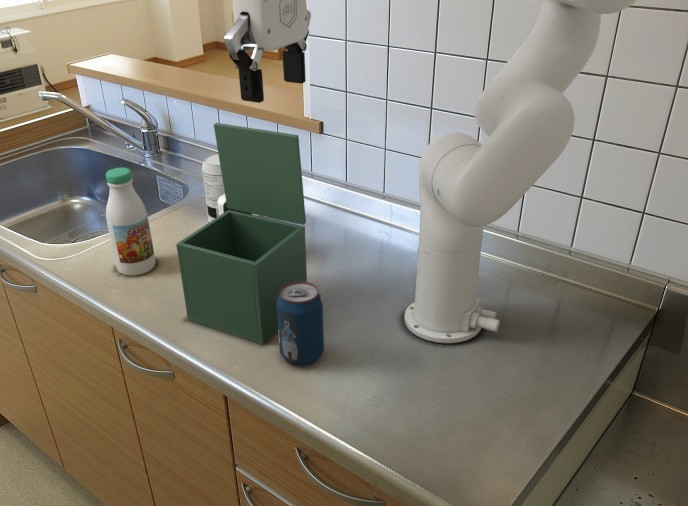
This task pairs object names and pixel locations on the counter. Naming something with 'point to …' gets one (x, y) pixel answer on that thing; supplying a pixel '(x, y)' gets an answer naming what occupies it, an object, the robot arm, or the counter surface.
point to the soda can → (300, 324)
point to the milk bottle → (128, 225)
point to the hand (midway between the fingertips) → (274, 91)
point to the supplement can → (212, 184)
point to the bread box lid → (261, 172)
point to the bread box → (240, 272)
